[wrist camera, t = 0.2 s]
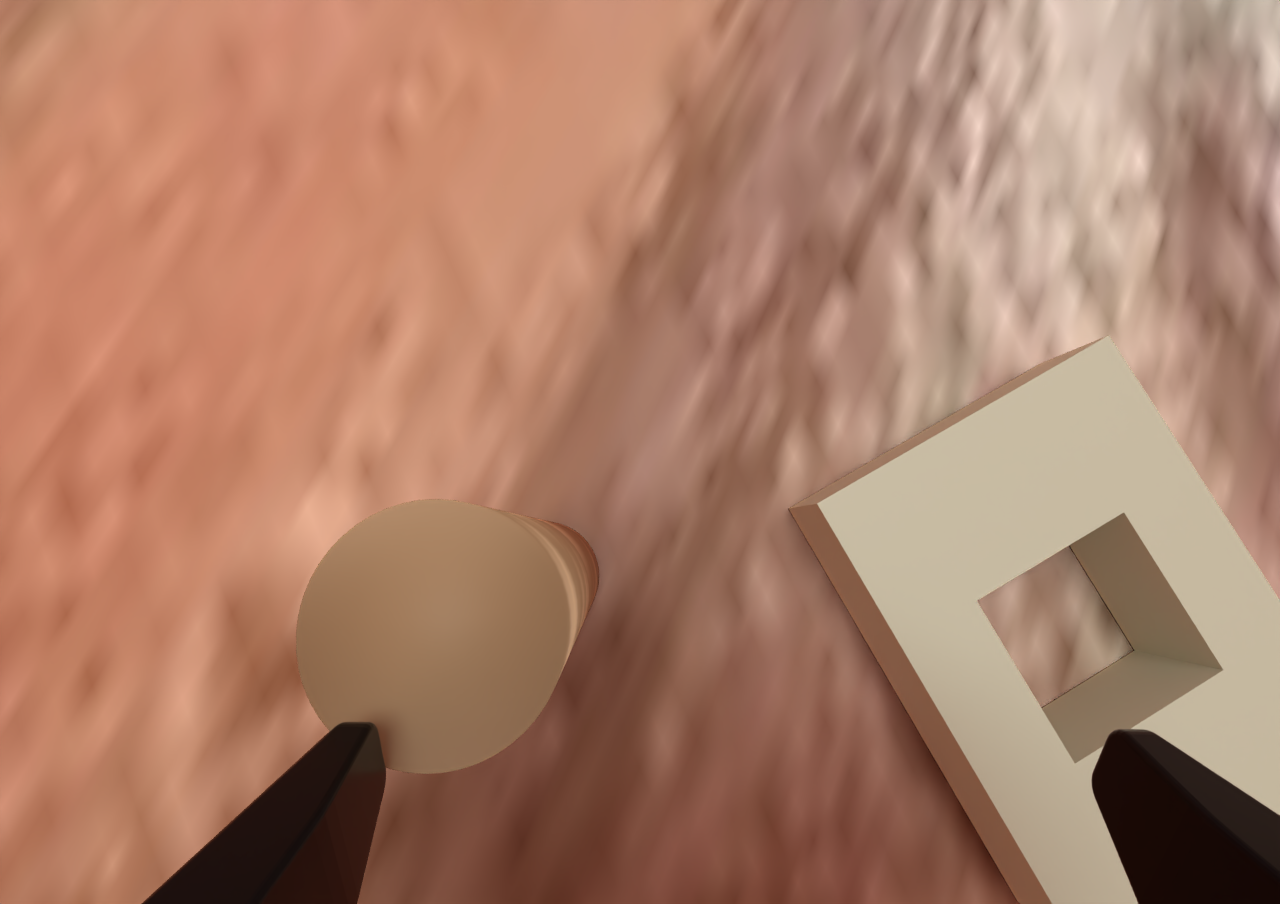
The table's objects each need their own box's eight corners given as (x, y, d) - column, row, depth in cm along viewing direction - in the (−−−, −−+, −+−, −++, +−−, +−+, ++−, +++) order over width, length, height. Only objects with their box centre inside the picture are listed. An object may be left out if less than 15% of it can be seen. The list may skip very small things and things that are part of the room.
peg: (618, 596, 23) (614, 685, 9) (522, 652, 23) (371, 827, 9) (566, 502, 24) (487, 452, 10) (470, 555, 23) (249, 581, 9)
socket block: (1274, 735, 23) (1389, 770, 20) (1017, 901, 23) (1090, 968, 19) (1040, 363, 25) (1109, 335, 21) (788, 508, 24) (816, 503, 20)
